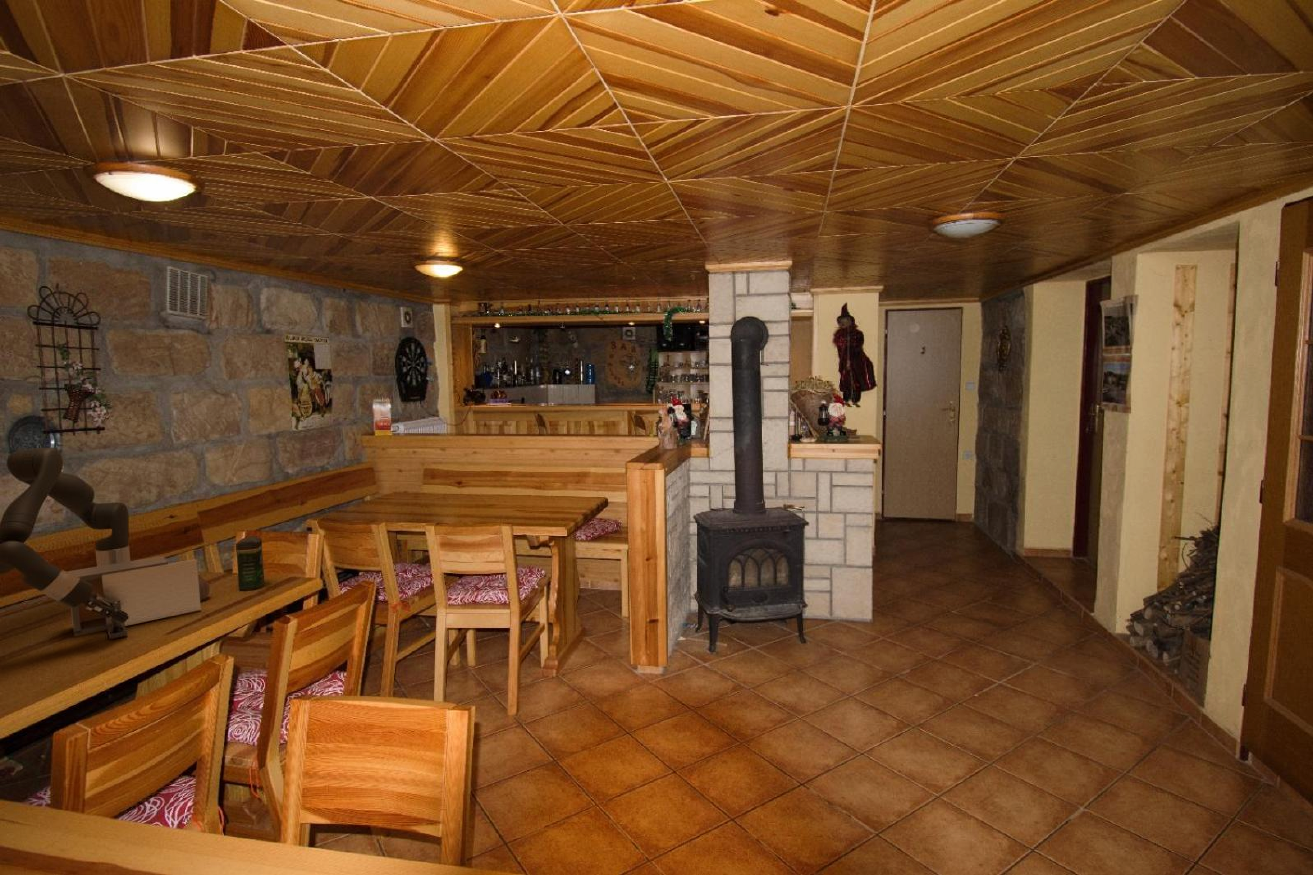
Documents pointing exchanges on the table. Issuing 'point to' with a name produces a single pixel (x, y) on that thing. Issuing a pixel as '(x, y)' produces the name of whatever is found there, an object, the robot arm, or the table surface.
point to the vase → (203, 588)
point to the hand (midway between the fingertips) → (125, 618)
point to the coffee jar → (250, 563)
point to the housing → (86, 618)
